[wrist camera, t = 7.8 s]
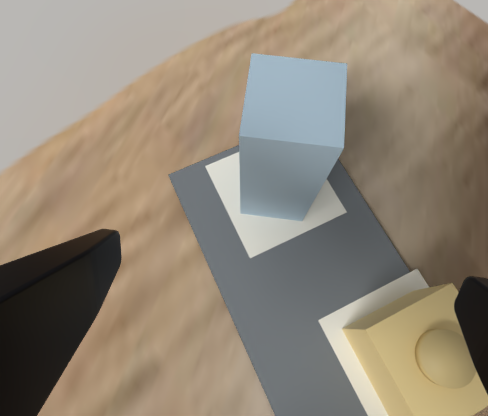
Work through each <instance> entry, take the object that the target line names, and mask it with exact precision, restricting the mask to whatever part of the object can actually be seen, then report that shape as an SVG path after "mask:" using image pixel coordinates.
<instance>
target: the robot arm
mask: <svg viewBox="0 0 488 416" xmlns="http://www.w3.org/2000/svg"><path fill="white" fill-rule="evenodd" d="M120 264H121V244H120V235H119V232H118V231H116V230H110V229H100V230H97V231H95V232H92V233H89V234H86V235H84V236H81V237H78V238H75V239H72V240H70V241H67V242H64V243H61V244H59V245H56V246H53V247H50V248H47V249H45V250H42V251H39V252H36V253H34V254H31V255H28V256H25V257H22V258H20V259H17V260H14V261H11V262H8V263H6V264H3V265H0V416H37V415H38V413H39V411H40V410H41V408H42V406H43V405H44V403H45V401H46V400H47V398H48V396H49V395H50V393H51V391H52V390H53V388H54V387H55V385H56V383H57V382H58V380H59V378H60V377H61V375H62V373H63V372H64V370H65V368H66V367H67V365H68V363H69V362H70V360H71V358H72V357H73V355H74V353H75V352H76V350H77V348H78V347H79V345H80V343H81V342H82V340H83V338H84V337H85V335H86V333H87V332H88V330H89V328H90V327H91V325H92V323H93V322H94V320H95V318H96V316H97V314H98V313H99V310H100V308H101V306H102V304H103V302H104V300H105V298H106V295H107V293H108V291H109V289H110V287H111V284H112V282H113V280H114V278H115V276H116V273H117V271H118V269H119V267H120ZM454 311H455V314H456V317H457V320H458V322H459V325H460V328H461V331H462V334H463V337H464V339H465V342H466V345H467V348H468V351H469V354H470V356H471V359H472V362H473V364H474V367H475V369H476V371H477V374H478V376H479V378H480V380H481V382H482V384H483V386H484V389H485V391H486V393H487V395H488V279H487V278H482V277H474V276H470V277H467V278H466V279H465V280H464V282H463V284H462V286H461V288H460V291H459V293H458V295H457V297H456V299H455V302H454Z"/></svg>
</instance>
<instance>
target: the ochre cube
mask: <svg viewBox="0 0 488 416" xmlns="http://www.w3.org/2000/svg"><path fill="white" fill-rule="evenodd" d="M458 293H459V292H458V291H457V289H456V288H455V286H454V285H453V283H449V284H444V285H439V286H434V287H429V288H424V289H419V290H414V291H412V292H410V293H408V294H406V295H404V296H402V297H401V298H399V299H397V300H395V301H393V302H391V303H389V304H387V305H386V306H384V307H382V308H380V309H378V310H376V311H374V312H372V313H371V314H369V315H367V316H365V317H363V318H361V319H359V320H357V321H356V322H354V323H352V324H350V325H348V326H346V327H344V328H342V330H343V332H344V334H345V336H346V338H347V339H348V341H349V343H350V345H351V347H352V349H353V351H354V352H355V354H356V356H357V358H358V360H359V362H360V364H361V365H362V367H363V369H364V371H365V373H366V375H367V376H368V378H369V380H370V382H371V384H372V386H373V388H374V389H375V391H376V393H377V395H378V397H379V399H380V401H381V402H382V404H383V406H384V408H385V410H386V412H387V414H388V415H389V416H473V415H474V414H476V413H478V412H479V411H481V410H482V409H484V408H486V407H487V406H488V395H487V393H486V391H485V389H484V386H483V384H482V382H481V380H480V378H479V376H478V374H477V371H476V369H475V367H474V364H473V362H472V359H471V356H470V354H469V351H468V348H467V345H466V342H465V339H464V337H463V334H462V331H461V328H460V325H459V322H458V320H457V317H456V314H455V311H454V302H455V299H456V297H457V295H458Z"/></svg>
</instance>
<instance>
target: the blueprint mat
mask: <svg viewBox="0 0 488 416" xmlns="http://www.w3.org/2000/svg"><path fill="white" fill-rule="evenodd" d="M169 178H170V180H171V182H172V184H173V187H174V189H175V191H176V193H177V196H178V198H179V200H180V202H181V205H182V207H183V209H184V211H185V214H186V216H187V218H188V220H189V223H190V225H191V227H192V229H193V232H194V234H195V236H196V238H197V241H198V243H199V245H200V247H201V250H202V252H203V254H204V256H205V259H206V261H207V263H208V265H209V268H210V270H211V272H212V274H213V277H214V279H215V281H216V283H217V286H218V288H219V290H220V292H221V295H222V297H223V299H224V301H225V304H226V306H227V308H228V310H229V313H230V315H231V317H232V319H233V322H234V324H235V326H236V328H237V331H238V333H239V335H240V337H241V340H242V342H243V344H244V346H245V349H246V351H247V353H248V355H249V358H250V360H251V362H252V364H253V367H254V369H255V371H256V373H257V376H258V378H259V380H260V382H261V385H262V387H263V389H264V391H265V394H266V396H267V398H268V400H269V403H270V405H271V407H272V409H273V412H274V414H275V416H389V415H388V414H387V412H386V410H385V408H384V406H383V404H382V402H381V401H380V399H379V397H378V395H377V393H376V391H375V389H374V388H373V386H372V384H371V382H370V380H369V378H368V376H367V375H366V373H365V371H364V369H363V367H362V365H361V364H360V362H359V360H358V358H357V356H356V354H355V352H354V351H353V349H352V347H351V345H350V343H349V341H348V339H347V338H346V336H345V334H344V332H343V330H342V328H344V327H346V326H348V325H350V324H352V323H354V322H356V321H357V320H359V319H361V318H363V317H365V316H367V315H369V314H371V313H372V312H374V311H376V310H378V309H380V308H382V307H384V306H386V305H387V304H389V303H391V302H393V301H395V300H397V299H399V298H401V297H402V296H404V295H406V294H408V293H410V292H412V291H414V290H419V289H424V288H429V286H428V284H427V283H426V281H425V280H424V278H423V277H422V275H421V274H420V272H419V270H418V269H415V270H413V271H411V272H410V271H409V270H408V268H407V266H406V265H405V263H404V262H403V260H402V259H401V257H400V255H399V254H398V252H397V251H396V249H395V248H394V246H393V244H392V243H391V241H390V240H389V238H388V237H387V235H386V233H385V232H384V230H383V229H382V227H381V226H380V224H379V222H378V221H377V219H376V218H375V216H374V214H373V213H372V211H371V210H370V208H369V207H368V205H367V203H366V202H365V200H364V199H363V197H362V196H361V194H360V192H359V191H358V189H357V188H356V186H355V185H354V183H353V181H352V180H351V178H350V177H349V175H348V174H347V172H346V170H345V169H344V167H343V166H342V164H341V163H340V161H339V159H337V161H336V163H335V165H334V166H333V168H332V170H331V172H330V173H329V175H328V177H327V179H326V180H325V182H324V184H323V186H322V187H321V189H320V191H319V193H318V194H317V196H316V198H315V200H314V201H313V203H312V205H311V207H310V208H309V210H308V212H307V214H306V215H305V217H304V219H303V221H296V220H288V219H280V218H272V217H264V216H256V215H248V214H240V163H239V145H238V146H236V147H233V148H231V149H229V150H226V151H224V152H221V153H219V154H217V155H214V156H212V157H209V158H207V159H205V160H202V161H200V162H198V163H195V164H193V165H190V166H188V167H186V168H183V169H181V170H179V171H176V172H174V173H171V174H169Z"/></svg>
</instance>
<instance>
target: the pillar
mask: <svg viewBox="0 0 488 416" xmlns="http://www.w3.org/2000/svg"><path fill="white" fill-rule="evenodd" d="M346 82H347V64H346V63H337V62H327V61H318V60H309V59H299V58H290V57H281V56H271V55H262V54H252V55H251V62H250V68H249V75H248V81H247V88H246V94H245V100H244V107H243V113H242V120H241V126H240V133H239V163H240V214H248V215H256V216H264V217H272V218H280V219H288V220H296V221H303V219H304V217H305V215H306V214H307V212H308V210H309V208H310V207H311V205H312V203H313V201H314V200H315V198H316V196H317V194H318V193H319V191H320V189H321V187H322V186H323V184H324V182H325V180H326V179H327V177H328V175H329V173H330V172H331V170H332V168H333V166H334V165H335V163H336V161H337V159H338V158H339V156H340V154H341V152H342V151H343V149H344V135H345V109H346Z"/></svg>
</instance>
